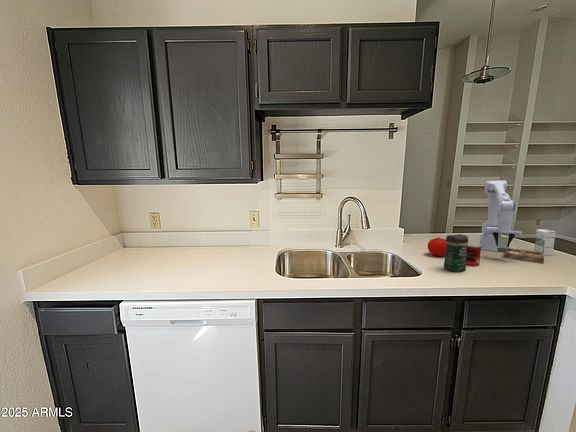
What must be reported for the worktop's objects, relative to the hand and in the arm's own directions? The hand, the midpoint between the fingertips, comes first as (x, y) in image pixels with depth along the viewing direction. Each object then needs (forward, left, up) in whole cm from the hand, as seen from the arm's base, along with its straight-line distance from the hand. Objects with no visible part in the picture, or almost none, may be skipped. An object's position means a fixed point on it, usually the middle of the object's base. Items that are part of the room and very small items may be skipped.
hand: (502, 246), depth 138 cm
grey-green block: (0, 0, -3) cm, 3 cm away
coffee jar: (-17, -32, -8) cm, 37 cm away
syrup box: (+18, +27, -8) cm, 33 cm away
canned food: (-12, -17, -8) cm, 22 cm away
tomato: (-29, -11, -8) cm, 32 cm away
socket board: (+9, +12, -8) cm, 17 cm away
